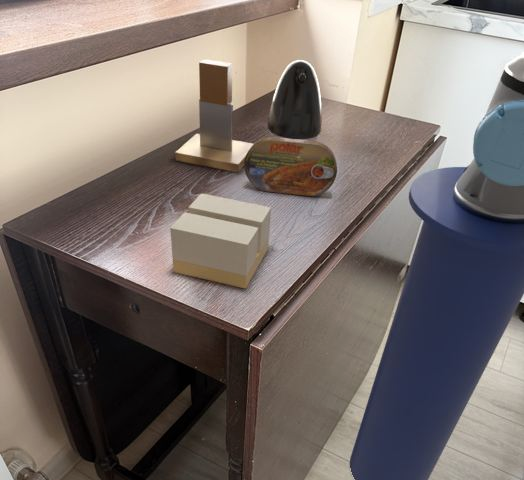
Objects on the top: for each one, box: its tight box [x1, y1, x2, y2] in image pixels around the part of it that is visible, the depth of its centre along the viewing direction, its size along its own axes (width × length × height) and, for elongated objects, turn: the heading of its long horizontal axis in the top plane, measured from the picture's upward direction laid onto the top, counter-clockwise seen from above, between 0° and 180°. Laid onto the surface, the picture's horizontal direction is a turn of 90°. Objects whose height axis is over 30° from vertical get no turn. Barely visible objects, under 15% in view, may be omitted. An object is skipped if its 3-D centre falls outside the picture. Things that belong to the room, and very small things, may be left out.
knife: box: [198, 58, 234, 151], centre depth 88 cm, size 6×2×14 cm, turn 73°
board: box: [174, 133, 254, 173], centre depth 93 cm, size 12×10×2 cm
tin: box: [243, 136, 338, 197], centre depth 83 cm, size 15×3×8 cm, turn 82°
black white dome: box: [267, 59, 323, 141], centre depth 94 cm, size 10×10×15 cm
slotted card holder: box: [169, 193, 272, 290], centre depth 67 cm, size 10×10×6 cm
